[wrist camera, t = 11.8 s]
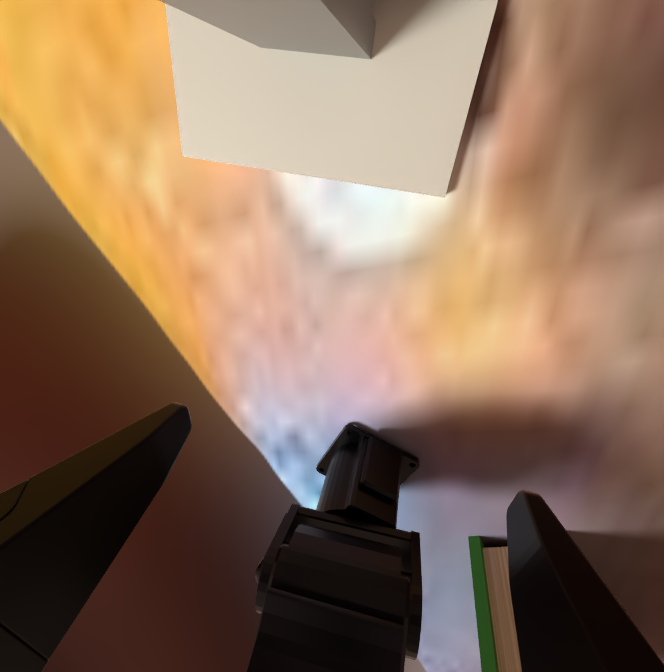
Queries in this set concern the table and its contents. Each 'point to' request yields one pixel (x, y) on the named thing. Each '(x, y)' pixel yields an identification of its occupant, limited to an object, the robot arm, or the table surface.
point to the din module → (292, 23)
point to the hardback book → (494, 608)
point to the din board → (336, 97)
